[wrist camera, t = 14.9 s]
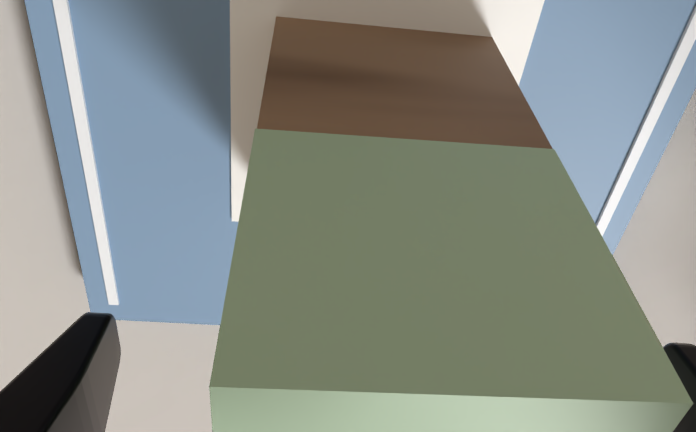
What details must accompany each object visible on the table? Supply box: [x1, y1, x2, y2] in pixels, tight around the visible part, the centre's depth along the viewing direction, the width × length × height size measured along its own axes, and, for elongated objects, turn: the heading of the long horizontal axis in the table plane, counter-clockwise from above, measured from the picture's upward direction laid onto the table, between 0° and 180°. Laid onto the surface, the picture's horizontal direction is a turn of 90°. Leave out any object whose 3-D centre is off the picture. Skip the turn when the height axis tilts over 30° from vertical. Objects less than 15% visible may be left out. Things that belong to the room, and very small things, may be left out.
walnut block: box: [257, 16, 553, 149], centre depth 14 cm, size 5×5×5 cm
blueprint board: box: [24, 0, 696, 325], centre depth 16 cm, size 16×16×1 cm
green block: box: [209, 129, 693, 432], centre depth 10 cm, size 5×5×5 cm
